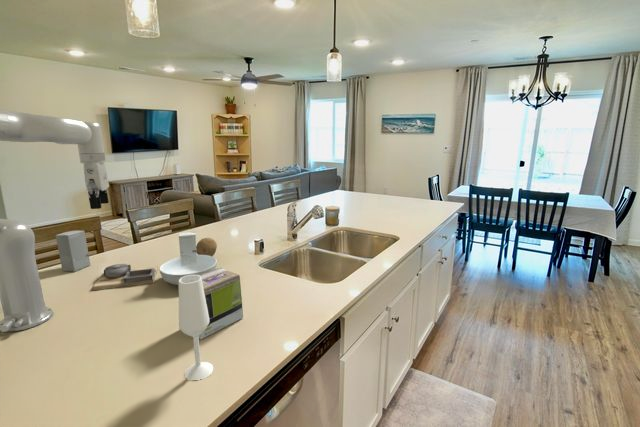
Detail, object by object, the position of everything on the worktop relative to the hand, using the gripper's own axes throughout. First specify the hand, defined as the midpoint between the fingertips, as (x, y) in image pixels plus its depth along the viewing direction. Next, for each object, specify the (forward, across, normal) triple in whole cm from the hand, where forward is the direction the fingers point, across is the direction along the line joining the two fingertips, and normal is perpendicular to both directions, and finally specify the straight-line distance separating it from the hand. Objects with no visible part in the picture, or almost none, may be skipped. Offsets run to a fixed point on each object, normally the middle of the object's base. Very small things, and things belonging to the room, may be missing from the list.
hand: (100, 205), depth 122 cm
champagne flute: (+31, -63, -32) cm, 77 cm away
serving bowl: (+31, -7, -28) cm, 42 cm away
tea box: (+31, -42, -36) cm, 63 cm away
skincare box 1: (+31, +22, +18) cm, 42 cm away
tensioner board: (+30, +2, -5) cm, 31 cm away
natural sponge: (+31, +15, -35) cm, 49 cm away
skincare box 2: (+24, -6, -29) cm, 38 cm away
